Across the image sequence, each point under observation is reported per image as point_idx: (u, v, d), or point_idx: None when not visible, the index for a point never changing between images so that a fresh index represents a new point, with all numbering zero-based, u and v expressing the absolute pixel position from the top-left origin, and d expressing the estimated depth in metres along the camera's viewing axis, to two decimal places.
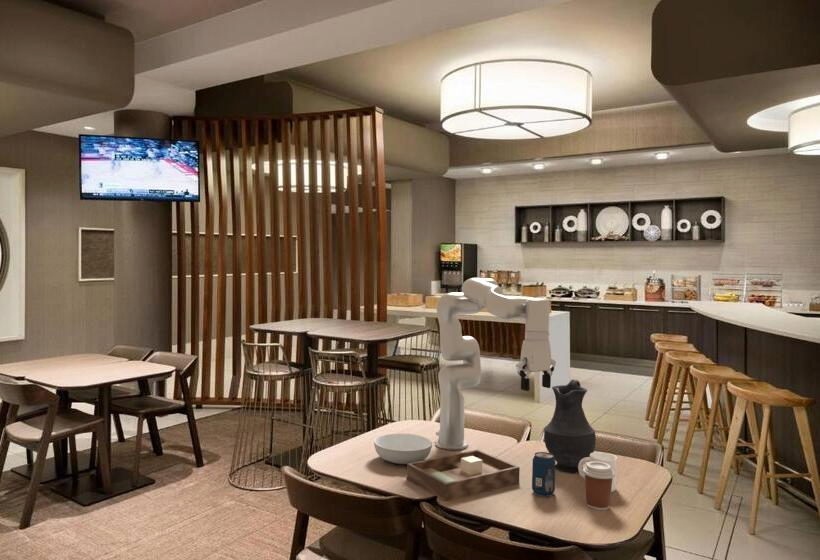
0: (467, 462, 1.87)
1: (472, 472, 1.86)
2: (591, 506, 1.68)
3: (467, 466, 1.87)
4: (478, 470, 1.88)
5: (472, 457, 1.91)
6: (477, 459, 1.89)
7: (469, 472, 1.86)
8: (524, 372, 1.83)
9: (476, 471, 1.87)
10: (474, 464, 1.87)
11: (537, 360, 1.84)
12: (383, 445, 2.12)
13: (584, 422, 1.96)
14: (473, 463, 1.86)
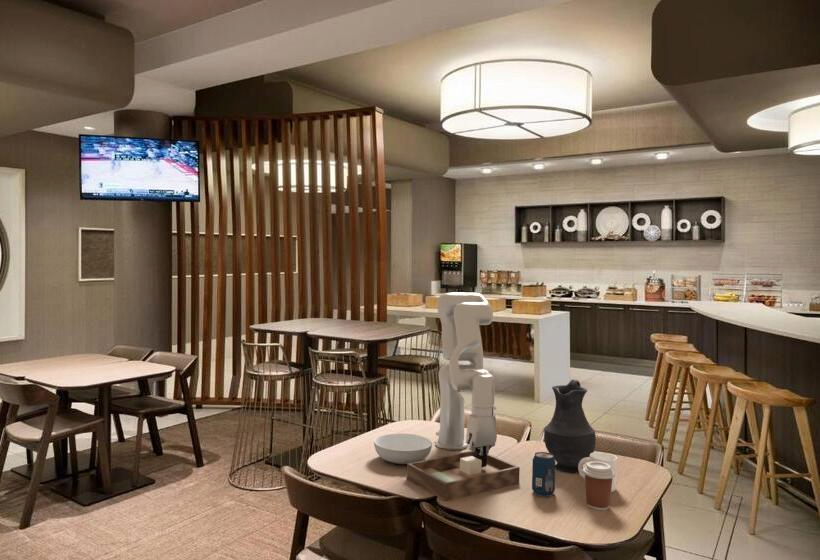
0: (466, 462, 1.87)
1: (471, 472, 1.86)
2: (591, 506, 1.68)
3: (466, 467, 1.87)
4: (477, 471, 1.87)
5: (471, 457, 1.91)
6: (476, 459, 1.89)
7: (468, 472, 1.86)
8: (477, 452, 1.89)
9: (475, 471, 1.87)
10: (473, 465, 1.86)
11: (482, 435, 1.88)
12: (383, 445, 2.12)
13: (584, 422, 1.96)
14: (472, 463, 1.86)
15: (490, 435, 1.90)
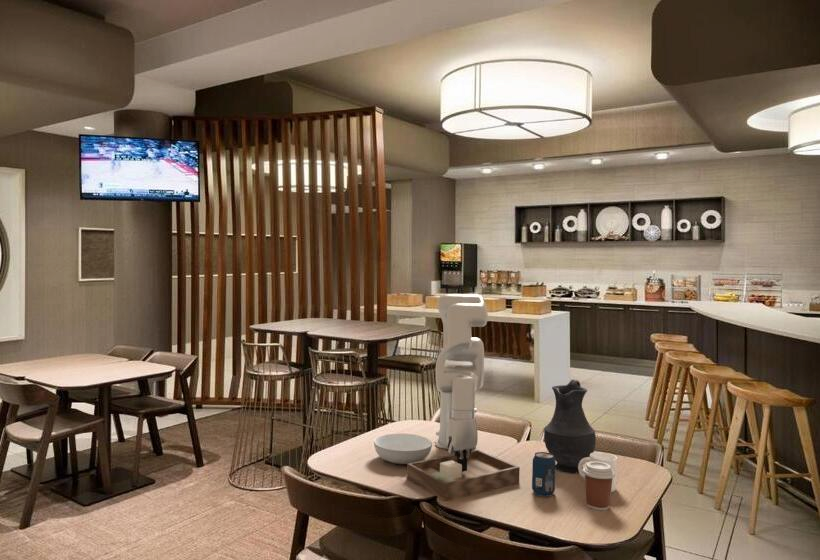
0: (446, 467, 1.82)
1: (451, 477, 1.81)
2: (591, 506, 1.68)
3: (446, 471, 1.82)
4: (457, 475, 1.83)
5: (451, 462, 1.86)
6: (456, 464, 1.84)
7: (448, 477, 1.81)
8: (457, 456, 1.85)
9: (455, 476, 1.82)
10: (453, 469, 1.82)
11: (462, 439, 1.84)
12: (383, 445, 2.12)
13: (584, 422, 1.96)
14: (452, 468, 1.81)
15: (470, 438, 1.86)
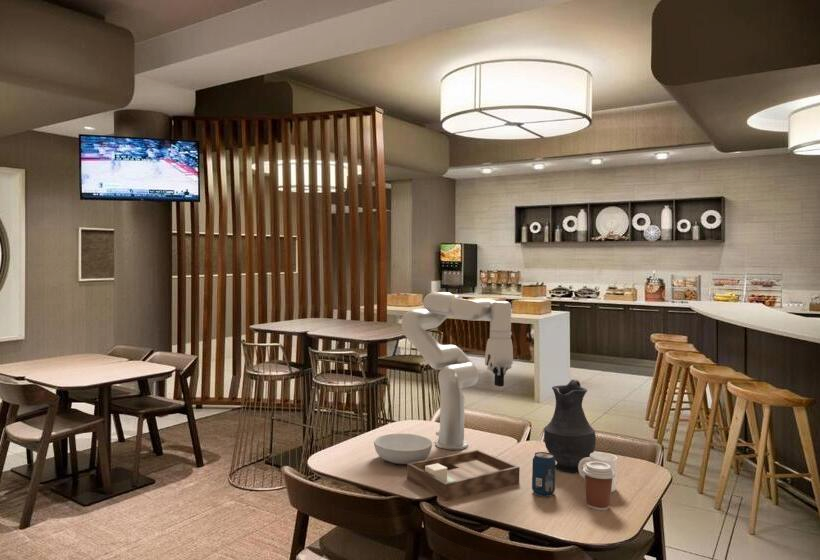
0: (431, 470, 1.79)
1: None
2: (591, 506, 1.68)
3: None
4: (442, 479, 1.79)
5: (437, 465, 1.83)
6: (442, 467, 1.81)
7: None
8: (495, 372, 2.06)
9: (440, 479, 1.79)
10: (438, 473, 1.78)
11: (500, 356, 2.05)
12: (383, 445, 2.12)
13: (584, 422, 1.96)
14: (437, 471, 1.78)
15: (507, 357, 2.07)
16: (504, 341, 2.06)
